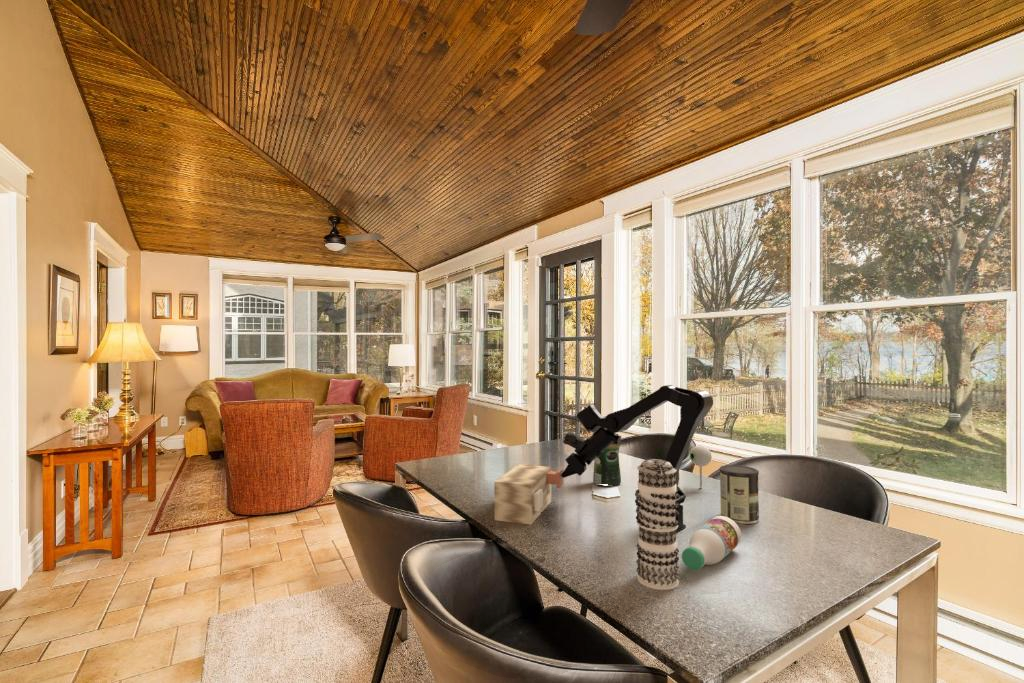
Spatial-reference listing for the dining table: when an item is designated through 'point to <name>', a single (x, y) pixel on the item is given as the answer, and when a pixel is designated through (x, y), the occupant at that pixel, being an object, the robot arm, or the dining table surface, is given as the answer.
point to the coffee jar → (607, 466)
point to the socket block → (521, 493)
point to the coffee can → (739, 493)
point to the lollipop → (700, 458)
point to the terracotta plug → (555, 478)
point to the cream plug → (538, 499)
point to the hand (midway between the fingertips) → (562, 476)
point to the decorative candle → (657, 525)
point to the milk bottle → (711, 543)
